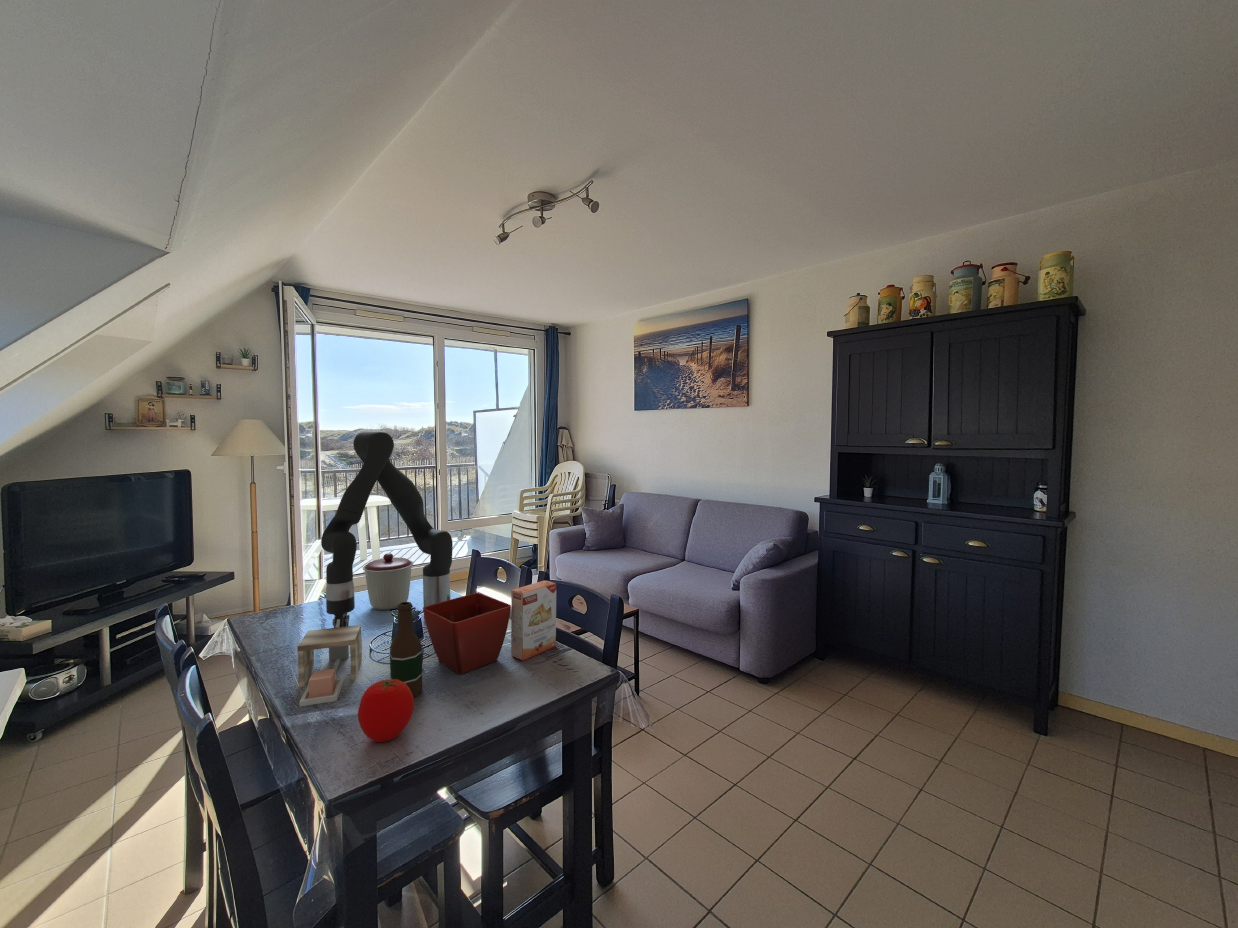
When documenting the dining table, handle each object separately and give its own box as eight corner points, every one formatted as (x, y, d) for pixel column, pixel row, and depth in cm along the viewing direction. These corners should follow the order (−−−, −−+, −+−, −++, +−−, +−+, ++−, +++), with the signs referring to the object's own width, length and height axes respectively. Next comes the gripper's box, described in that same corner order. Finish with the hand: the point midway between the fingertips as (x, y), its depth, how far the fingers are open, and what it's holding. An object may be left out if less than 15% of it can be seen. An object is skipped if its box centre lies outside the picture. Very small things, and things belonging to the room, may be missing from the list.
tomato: (347, 745, 108) (345, 688, 108) (386, 718, 118) (385, 666, 118) (386, 757, 104) (385, 698, 104) (423, 728, 114) (422, 674, 114)
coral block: (335, 687, 130) (335, 668, 130) (331, 696, 125) (331, 677, 125) (314, 690, 128) (313, 671, 128) (309, 699, 124) (308, 680, 124)
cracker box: (523, 662, 148) (522, 593, 147) (510, 656, 152) (509, 589, 151) (557, 646, 159) (557, 582, 158) (544, 641, 163) (544, 578, 162)
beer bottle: (402, 703, 125) (400, 610, 124) (384, 695, 129) (381, 604, 128) (429, 690, 132) (427, 601, 130) (410, 682, 136) (408, 596, 134)
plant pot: (422, 661, 148) (421, 606, 147) (478, 642, 162) (478, 591, 161) (454, 683, 135) (453, 623, 134) (513, 660, 149) (512, 605, 148)
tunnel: (309, 673, 141) (308, 630, 140) (362, 666, 145) (361, 624, 144) (299, 692, 130) (297, 646, 130) (356, 683, 135) (354, 639, 134)
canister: (417, 608, 193) (416, 555, 192) (365, 617, 184) (363, 561, 183) (410, 595, 209) (409, 546, 207) (362, 602, 200) (361, 551, 198)
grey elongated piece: (324, 662, 146) (323, 637, 146) (354, 658, 149) (354, 634, 148) (299, 710, 121) (298, 680, 121) (336, 704, 124) (335, 675, 123)
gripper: (350, 601, 146) (351, 658, 147) (357, 587, 158) (359, 641, 159) (321, 603, 143) (322, 662, 144) (331, 590, 156) (332, 644, 157)
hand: (342, 651), depth 152 cm, fingers closed
